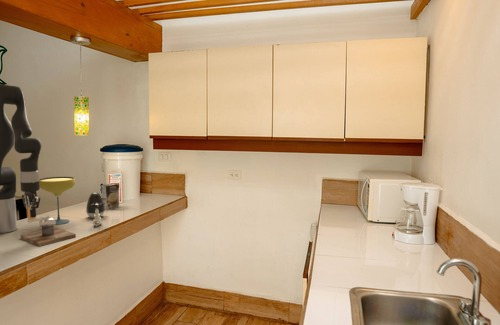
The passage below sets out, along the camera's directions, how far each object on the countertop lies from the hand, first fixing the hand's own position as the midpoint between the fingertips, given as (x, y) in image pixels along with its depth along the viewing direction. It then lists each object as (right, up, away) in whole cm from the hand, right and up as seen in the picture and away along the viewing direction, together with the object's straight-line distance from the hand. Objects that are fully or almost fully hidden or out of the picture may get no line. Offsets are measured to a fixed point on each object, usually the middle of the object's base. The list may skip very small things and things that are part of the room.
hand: (31, 216), depth 165 cm
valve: (+18, -10, +30) cm, 36 cm away
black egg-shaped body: (+10, -8, +46) cm, 48 cm away
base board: (+4, -12, +7) cm, 14 cm away
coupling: (+2, -5, +4) cm, 7 cm away
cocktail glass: (-6, -9, +34) cm, 36 cm away
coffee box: (+10, -5, +69) cm, 70 cm away
